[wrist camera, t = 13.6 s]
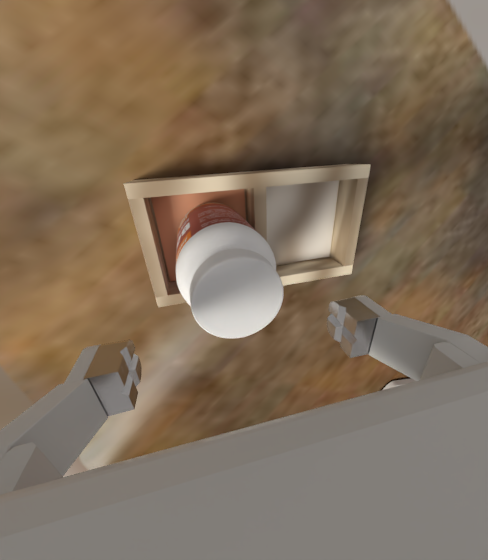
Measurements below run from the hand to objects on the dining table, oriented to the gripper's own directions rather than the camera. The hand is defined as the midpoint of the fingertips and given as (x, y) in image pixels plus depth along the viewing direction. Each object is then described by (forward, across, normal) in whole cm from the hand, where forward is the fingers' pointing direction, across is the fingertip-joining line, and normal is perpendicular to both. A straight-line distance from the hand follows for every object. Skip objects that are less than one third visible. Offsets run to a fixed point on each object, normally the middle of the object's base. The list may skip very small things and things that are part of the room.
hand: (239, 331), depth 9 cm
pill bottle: (+13, 0, 0) cm, 13 cm away
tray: (+14, +4, 0) cm, 15 cm away
